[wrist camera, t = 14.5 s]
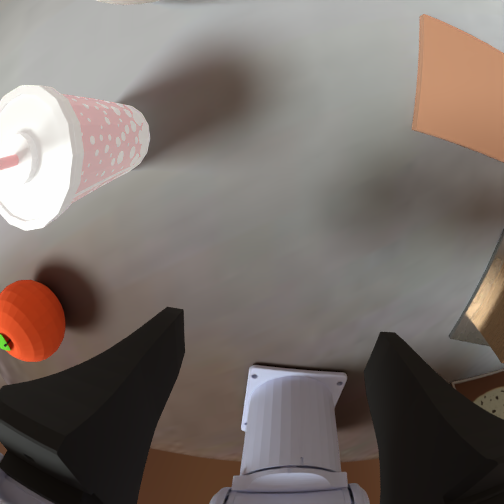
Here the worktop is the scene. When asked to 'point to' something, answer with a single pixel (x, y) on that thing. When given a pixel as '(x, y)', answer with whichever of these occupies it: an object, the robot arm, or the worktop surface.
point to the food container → (484, 391)
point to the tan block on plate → (486, 308)
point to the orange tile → (459, 89)
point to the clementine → (30, 321)
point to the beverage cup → (62, 151)
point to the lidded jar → (126, 1)
